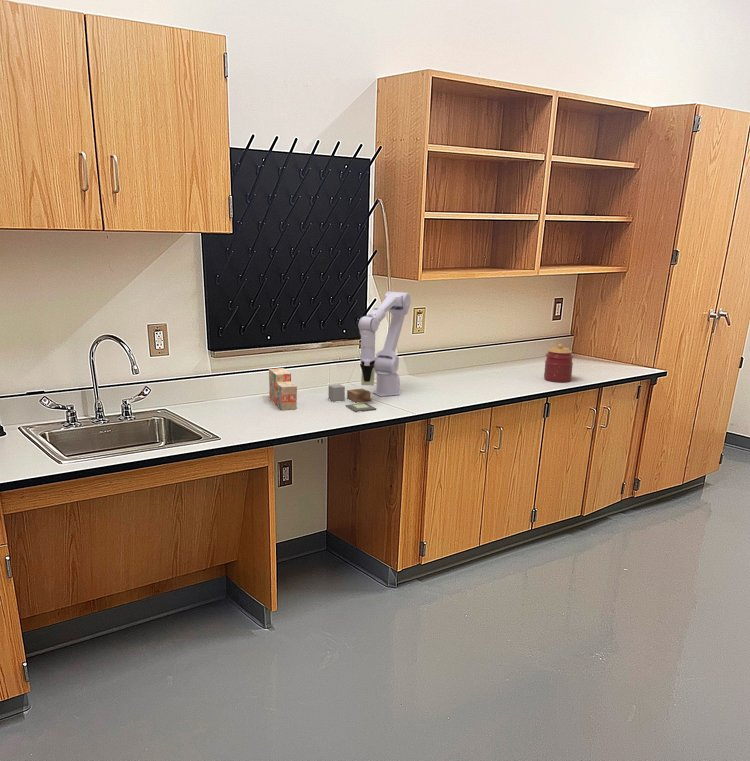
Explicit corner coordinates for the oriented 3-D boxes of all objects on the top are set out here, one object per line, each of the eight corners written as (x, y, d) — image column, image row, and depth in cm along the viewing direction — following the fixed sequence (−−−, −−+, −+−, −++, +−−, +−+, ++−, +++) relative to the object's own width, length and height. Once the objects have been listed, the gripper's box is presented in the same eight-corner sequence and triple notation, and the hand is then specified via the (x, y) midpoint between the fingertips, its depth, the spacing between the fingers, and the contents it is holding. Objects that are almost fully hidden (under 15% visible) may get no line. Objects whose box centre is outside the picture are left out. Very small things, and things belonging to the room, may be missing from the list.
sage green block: (361, 382, 277) (362, 367, 275) (374, 382, 276) (374, 368, 275) (361, 385, 272) (361, 370, 270) (373, 385, 272) (374, 370, 270)
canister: (559, 376, 333) (562, 340, 329) (577, 381, 322) (580, 345, 318) (537, 377, 328) (540, 341, 324) (555, 383, 316) (558, 346, 312)
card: (366, 404, 271) (366, 402, 270) (376, 409, 263) (376, 407, 263) (345, 406, 267) (345, 404, 267) (355, 412, 259) (355, 409, 259)
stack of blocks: (297, 409, 261) (297, 378, 259) (281, 410, 259) (280, 379, 256) (284, 396, 281) (283, 367, 278) (269, 397, 278) (268, 368, 276)
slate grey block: (339, 398, 280) (339, 384, 278) (344, 401, 275) (344, 386, 274) (328, 399, 277) (328, 385, 276) (333, 402, 273) (333, 387, 272)
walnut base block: (361, 397, 282) (362, 388, 281) (370, 401, 276) (370, 392, 275) (347, 399, 279) (347, 390, 278) (355, 403, 273) (355, 393, 272)
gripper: (377, 350, 264) (376, 384, 267) (378, 343, 278) (377, 376, 281) (359, 349, 264) (358, 383, 267) (361, 343, 278) (360, 375, 281)
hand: (367, 379), depth 274 cm, fingers closed on sage green block, 5 cm apart
